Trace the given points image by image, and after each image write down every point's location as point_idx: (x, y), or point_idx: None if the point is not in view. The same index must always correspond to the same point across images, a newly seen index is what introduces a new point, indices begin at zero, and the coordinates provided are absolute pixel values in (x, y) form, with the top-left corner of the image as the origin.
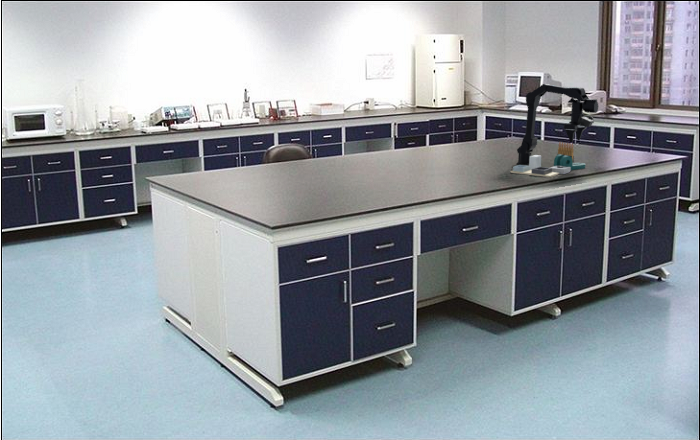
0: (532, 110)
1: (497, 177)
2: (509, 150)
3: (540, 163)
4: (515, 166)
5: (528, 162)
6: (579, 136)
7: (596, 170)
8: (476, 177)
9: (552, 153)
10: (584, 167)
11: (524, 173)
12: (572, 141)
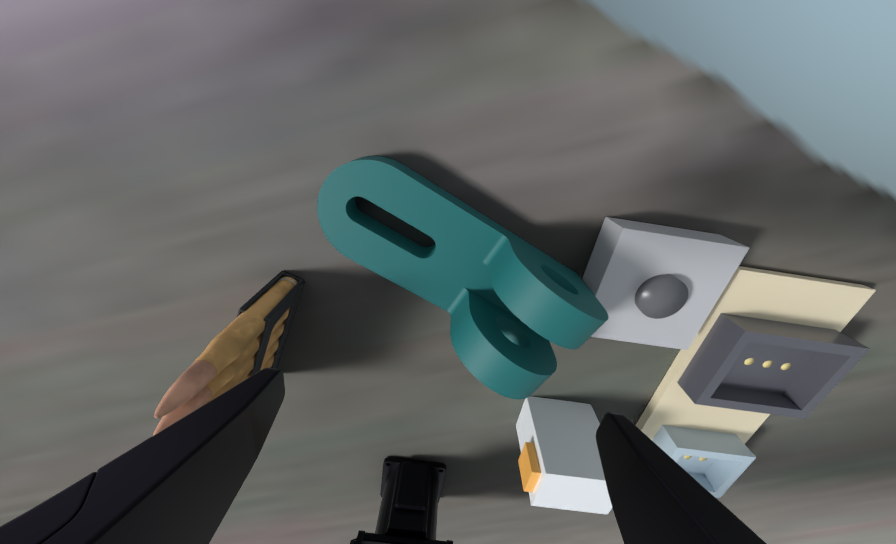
0: None
1: (861, 482)
2: None
3: (541, 423)
4: (711, 491)
5: (428, 472)
6: (225, 444)
7: (442, 17)
8: (859, 532)
9: (7, 447)
10: (387, 158)
11: (756, 422)
12: (633, 426)
